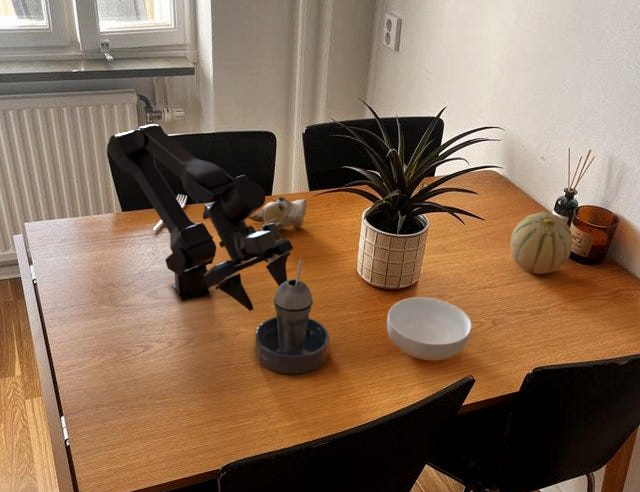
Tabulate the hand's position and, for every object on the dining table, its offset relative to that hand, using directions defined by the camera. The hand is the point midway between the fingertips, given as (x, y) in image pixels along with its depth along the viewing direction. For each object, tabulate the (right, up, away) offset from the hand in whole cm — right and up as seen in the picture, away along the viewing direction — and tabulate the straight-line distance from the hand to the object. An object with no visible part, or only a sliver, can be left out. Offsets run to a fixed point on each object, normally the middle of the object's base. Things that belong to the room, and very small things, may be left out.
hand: (270, 301), depth 136 cm
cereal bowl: (+31, -9, +7) cm, 33 cm away
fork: (-31, +23, +47) cm, 61 cm away
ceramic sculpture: (-3, +20, +46) cm, 51 cm away
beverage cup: (+4, -10, +1) cm, 11 cm away
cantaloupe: (+61, +9, +38) cm, 73 cm away
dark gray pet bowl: (+4, -10, +2) cm, 11 cm away
